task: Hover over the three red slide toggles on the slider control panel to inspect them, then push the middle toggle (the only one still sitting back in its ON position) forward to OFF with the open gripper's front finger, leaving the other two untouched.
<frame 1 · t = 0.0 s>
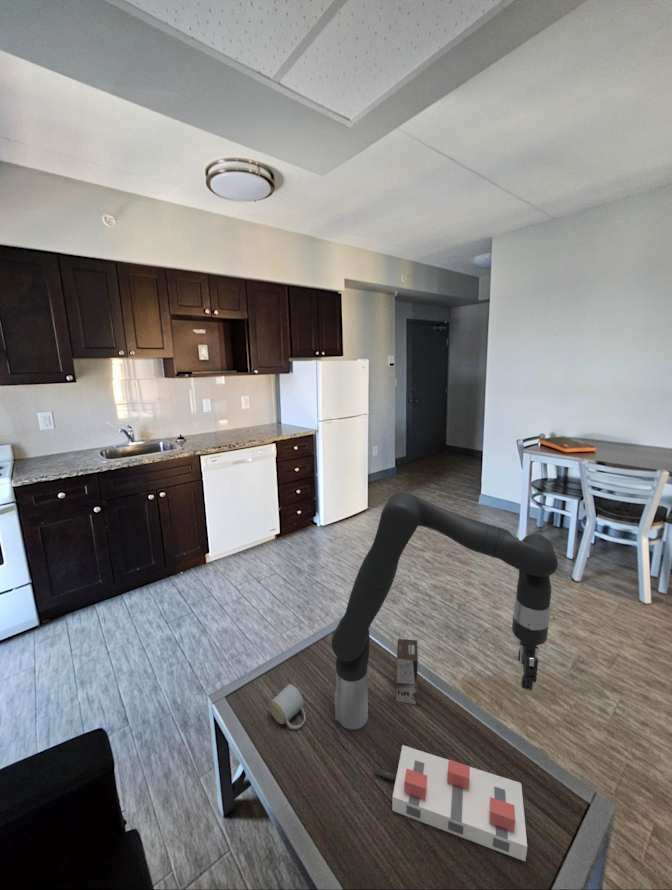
hand: (524, 674, 94), 29 cm above the table, fingers open, 8 cm apart
ceramic mug: (290, 716, 117), on the table
coffee box: (406, 691, 125), on the table
slider control panel: (456, 803, 93), on the table
toggle 2: (458, 774, 94), point 7 cm above the table, slide at 0.0 cm
toggle 3: (501, 814, 85), point 7 cm above the table, slide at 5.5 cm
toggle 1: (415, 783, 92), point 7 cm above the table, slide at 5.5 cm
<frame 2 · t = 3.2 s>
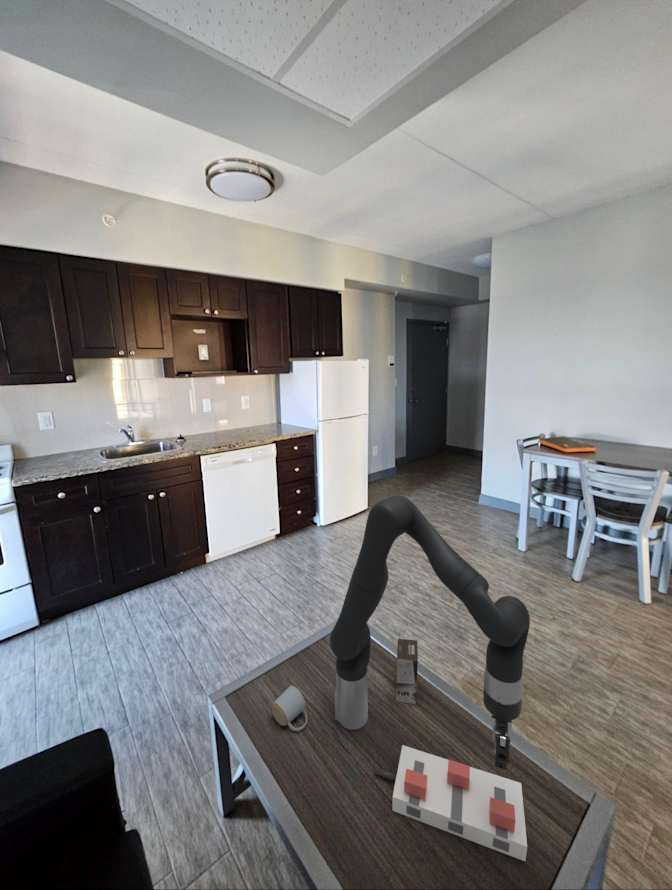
hand: (499, 748, 85), 21 cm above the table, fingers open, 8 cm apart
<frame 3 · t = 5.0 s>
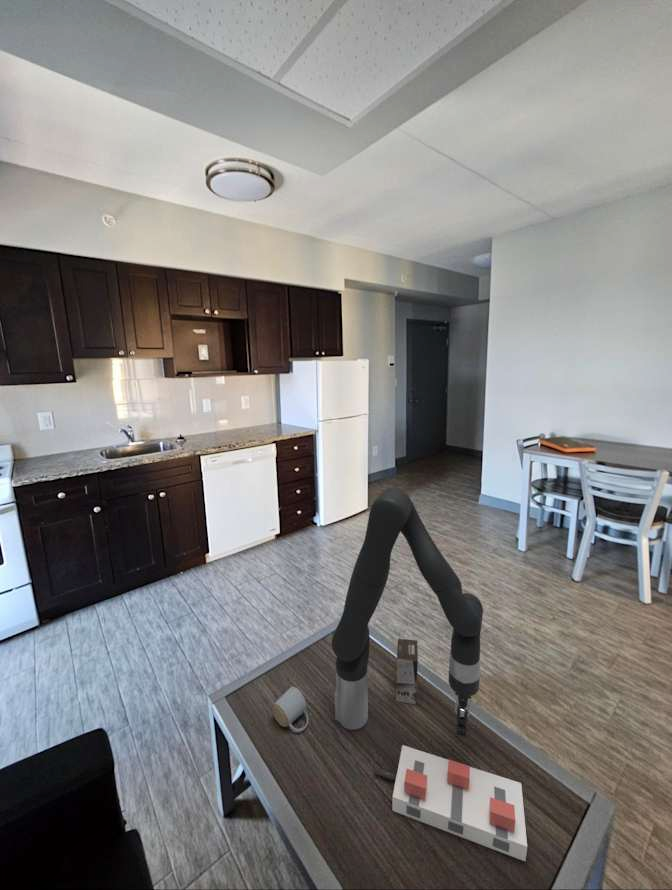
hand: (461, 720, 102), 12 cm above the table, fingers open, 8 cm apart
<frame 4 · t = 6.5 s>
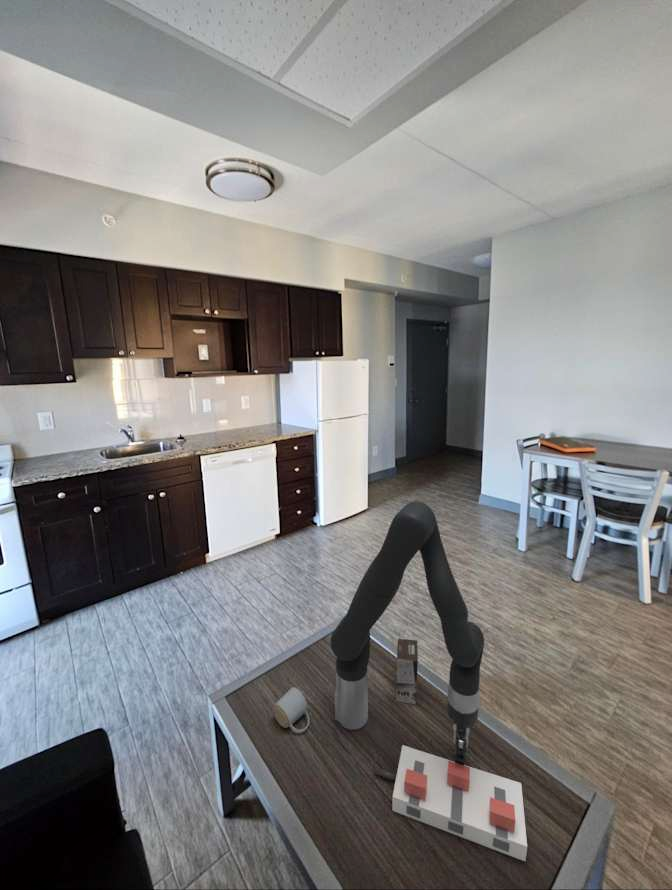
hand: (459, 748, 100), 6 cm above the table, fingers open, 8 cm apart
toggle 2: (458, 775, 93), point 7 cm above the table, slide at 0.3 cm, touching gripper
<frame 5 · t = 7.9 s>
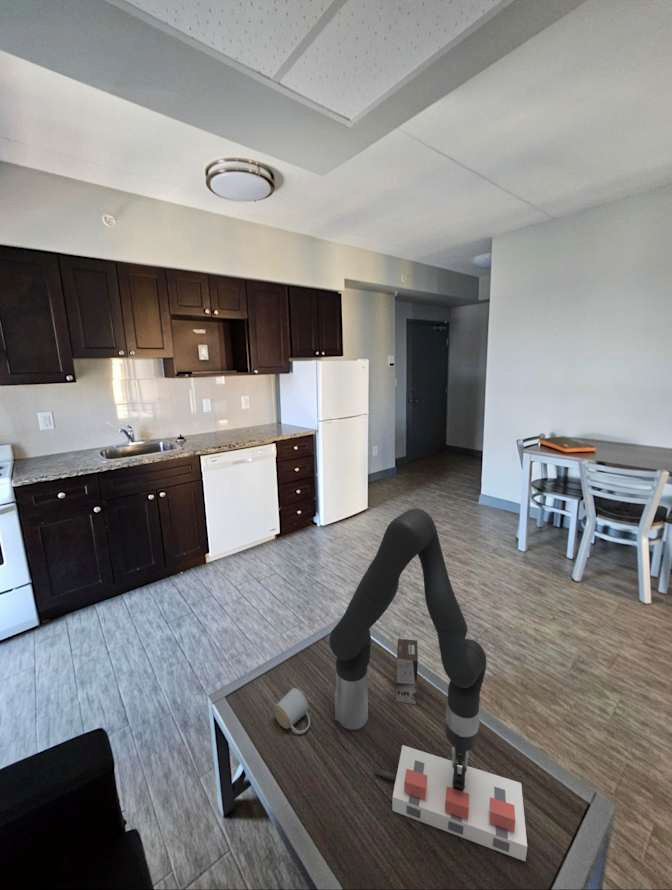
hand: (458, 772, 95), 6 cm above the table, fingers open, 8 cm apart
toggle 2: (457, 802, 88), point 7 cm above the table, slide at 6.4 cm, touching gripper
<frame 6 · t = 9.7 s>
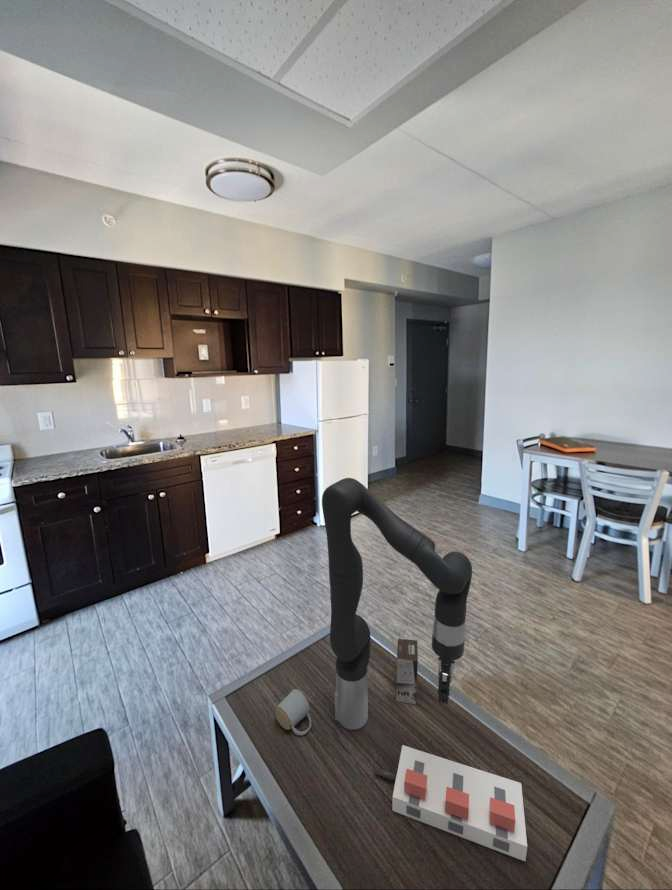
hand: (444, 687, 96), 25 cm above the table, fingers open, 8 cm apart
toggle 2: (457, 803, 88), point 7 cm above the table, slide at 6.5 cm
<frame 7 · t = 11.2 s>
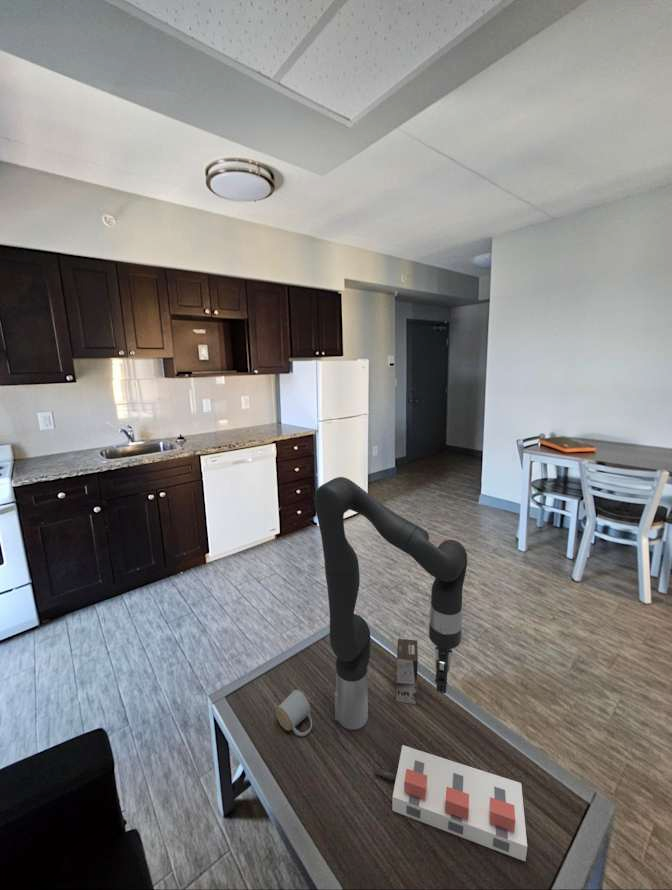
hand: (442, 677, 96), 28 cm above the table, fingers open, 8 cm apart
at the end: toggle 2 slide at 6.5 cm; toggle 1 slide at 5.5 cm; toggle 3 slide at 5.5 cm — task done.
